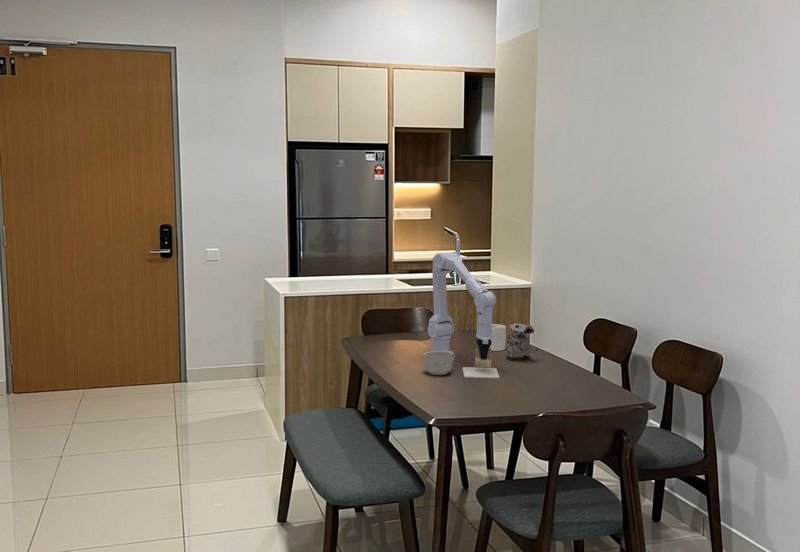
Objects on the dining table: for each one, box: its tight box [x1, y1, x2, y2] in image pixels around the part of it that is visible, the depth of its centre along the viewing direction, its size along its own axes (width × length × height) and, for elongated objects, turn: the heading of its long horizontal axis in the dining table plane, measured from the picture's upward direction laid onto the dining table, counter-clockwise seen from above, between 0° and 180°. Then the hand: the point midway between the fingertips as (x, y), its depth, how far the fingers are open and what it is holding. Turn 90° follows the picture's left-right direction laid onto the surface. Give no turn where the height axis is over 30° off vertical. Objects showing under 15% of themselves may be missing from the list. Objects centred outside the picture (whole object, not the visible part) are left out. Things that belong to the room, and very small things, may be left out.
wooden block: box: [474, 347, 493, 368], centre depth 293 cm, size 2×6×7 cm, turn 89°
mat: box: [462, 366, 500, 379], centre depth 292 cm, size 14×13×1 cm
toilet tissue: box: [489, 323, 507, 352], centre depth 335 cm, size 11×12×10 cm
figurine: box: [505, 322, 538, 361], centre depth 313 cm, size 9×12×15 cm
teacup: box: [423, 350, 456, 376], centre depth 290 cm, size 14×11×8 cm
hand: (483, 358), depth 293 cm, fingers closed on wooden block, 2 cm apart
